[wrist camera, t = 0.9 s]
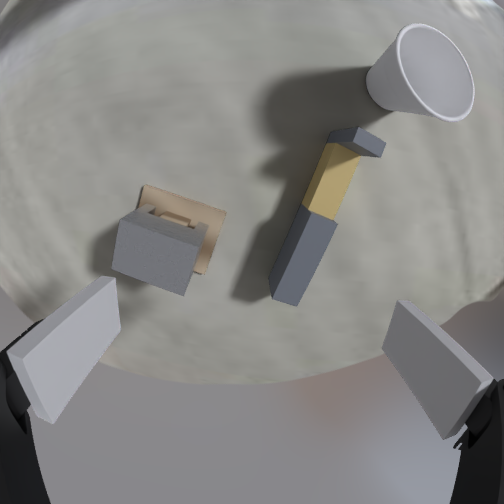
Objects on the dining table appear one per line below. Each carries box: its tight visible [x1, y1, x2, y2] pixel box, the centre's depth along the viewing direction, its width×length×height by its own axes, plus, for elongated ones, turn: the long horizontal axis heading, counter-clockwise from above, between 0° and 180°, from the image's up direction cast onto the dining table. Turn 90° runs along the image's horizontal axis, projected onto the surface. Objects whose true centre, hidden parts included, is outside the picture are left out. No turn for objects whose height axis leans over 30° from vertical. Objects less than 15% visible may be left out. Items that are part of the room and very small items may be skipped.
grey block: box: [111, 203, 209, 296], centre depth 26 cm, size 5×7×7 cm
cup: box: [366, 23, 474, 122], centre depth 20 cm, size 10×10×11 cm
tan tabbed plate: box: [138, 185, 227, 275], centre depth 29 cm, size 8×10×5 cm
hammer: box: [268, 127, 386, 306], centre depth 27 cm, size 19×3×8 cm, turn 159°
